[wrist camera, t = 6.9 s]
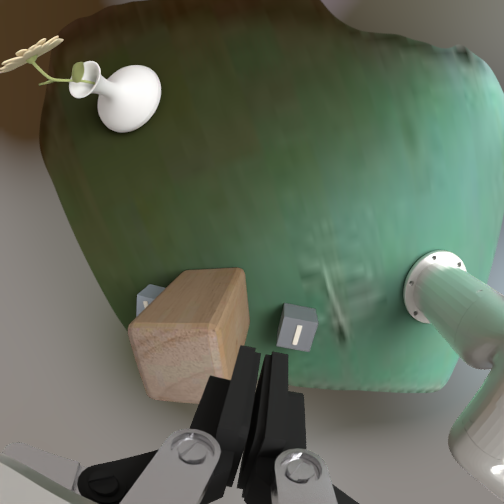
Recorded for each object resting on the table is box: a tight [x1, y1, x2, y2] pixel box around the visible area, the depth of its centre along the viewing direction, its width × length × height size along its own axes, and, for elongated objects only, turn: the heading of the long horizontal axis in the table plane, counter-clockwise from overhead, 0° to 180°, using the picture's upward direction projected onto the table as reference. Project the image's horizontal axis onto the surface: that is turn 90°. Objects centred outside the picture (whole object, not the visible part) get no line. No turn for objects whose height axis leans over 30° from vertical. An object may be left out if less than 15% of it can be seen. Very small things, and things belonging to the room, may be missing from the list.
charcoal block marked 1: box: [277, 303, 318, 352], centre depth 45 cm, size 5×5×5 cm
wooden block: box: [128, 268, 250, 404], centre depth 38 cm, size 10×10×20 cm
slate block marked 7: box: [136, 284, 165, 317], centre depth 46 cm, size 5×5×5 cm
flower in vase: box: [0, 36, 161, 132], centre depth 29 cm, size 13×11×25 cm
